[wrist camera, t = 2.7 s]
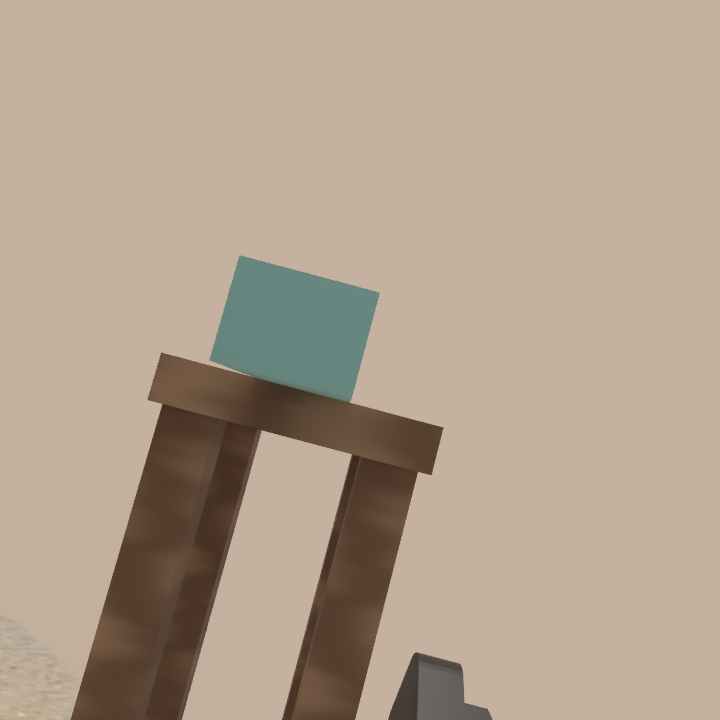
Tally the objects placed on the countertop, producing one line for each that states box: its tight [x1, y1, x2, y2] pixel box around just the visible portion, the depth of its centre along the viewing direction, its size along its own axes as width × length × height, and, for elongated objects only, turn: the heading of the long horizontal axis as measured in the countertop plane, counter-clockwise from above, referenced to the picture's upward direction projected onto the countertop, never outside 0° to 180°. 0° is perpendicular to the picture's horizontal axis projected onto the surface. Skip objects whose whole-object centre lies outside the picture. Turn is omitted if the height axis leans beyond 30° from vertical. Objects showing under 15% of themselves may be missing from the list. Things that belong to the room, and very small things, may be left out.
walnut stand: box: [71, 353, 443, 720], centre depth 34 cm, size 12×17×32 cm
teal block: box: [210, 256, 379, 403], centre depth 30 cm, size 4×24×3 cm, turn 0°
